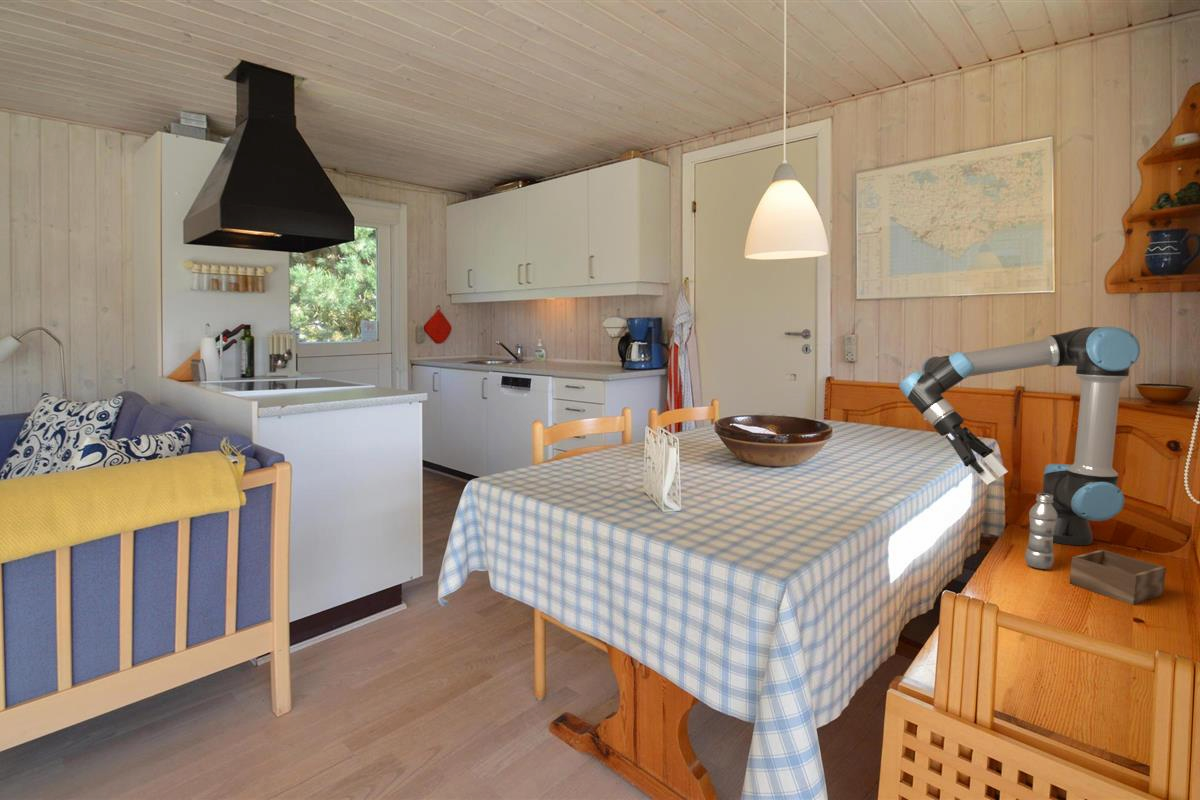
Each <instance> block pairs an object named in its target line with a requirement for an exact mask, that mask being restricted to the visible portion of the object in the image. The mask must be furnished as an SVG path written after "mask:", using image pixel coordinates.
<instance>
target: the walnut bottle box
mask: <svg viewBox="0 0 1200 800" xmlns="http://www.w3.org/2000/svg"><path fill="white" fill-rule="evenodd" d="M1166 571H1167V566H1163V565H1159V564H1155V563H1152V562H1147V561H1145V560H1141V559H1137V558H1134V557H1130V556H1126V555H1124V554H1120V553H1116V552H1112V551H1109V550H1105V549H1099V550H1095V551H1091V552H1087V553H1082V554H1079V555H1074V556H1072V557H1071V565H1070V574H1069V582H1068V583H1069V585H1071V584H1072V586H1074V585H1075V587H1077V586H1078V587H1077V588H1080V587H1081V589H1083V588H1084V590H1086V589H1087V590H1086V591H1089V590H1090V592H1092V591H1093V593H1095V592H1096V594H1099V595H1101V596H1105V597H1108V598H1111V599H1113V598H1115V599H1114V600H1116V599H1118V600H1117V601H1119V600H1120V602H1122V601H1124V602H1123V603H1125V602H1126V604H1128V603H1129V604H1128V605H1131V604H1132V605H1131V606H1135V605H1137V603H1138V604H1140V602H1141V603H1143V601H1144V602H1146V600H1147V601H1150V600H1153V599H1155V597H1156V598H1158V596H1159V597H1161V595H1162V596H1163V595H1164V589H1165V581H1166V574H1167V573H1166ZM1152 598H1153V599H1152ZM1149 599H1150V600H1149ZM1134 604H1135V605H1134Z"/></svg>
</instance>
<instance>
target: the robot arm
mask: <svg viewBox="0 0 1200 800" xmlns="http://www.w3.org/2000/svg"><path fill="white" fill-rule="evenodd" d="M1140 354H1141V346H1140V342H1139V340H1138V339H1137V337H1136V336H1135V335H1134V334H1133V333H1132V332H1130V331H1129V330H1126V329H1124V328H1121V327H1116V326H1097V327H1096V326H1095V327H1094V326H1088V327H1087V326H1086V327H1081V328H1078V329H1073V330H1070V331H1066V332H1062V333H1057V334H1051V335H1050V334H1049V335H1047V336H1045V338H1044V339H1043V340H1036V341H1028V342H1024V343H1023V342H1022V343H1017V344H1016V343H1015V344H1011V345H1006V346H998V347H993V348H987V349H979V350H974V351H968V352H961V351H956V352H954V353H953V354H949V355H944V356H932V357H928V358H927V359H926V360H924V362H923V363H922V365H921V371H914V372H912V373H911V374H909V375H908V376H906V377H905V378H903V379H902V381H900V383H899V385H898V386H899V390H900V391H901V392H902V394H904V397H906V399H907V400H908V401H909V402H910V403H911V404H912V405H913V407H914V408H916V410H918V411H919V413H920V414H921V415H922V416H923V417H924V418H923V420H924V421H927V423H929V424H930V426H933V429H934V430H935V431H936V432H937V433H938V434H939V435H940V436H941V437H944V436H945V439H946V440H947V441H948V442H949V443H950V445H951V446H952V447H953V448H952V449H954V451H955V452H956V454H957V455H958V457H959V458H960V460H961V462H962V463H963V466H964V467H970V468H971V470H972V471H974V472H975V474H977V476H979V478H980V479H981V480H982V481H983V482H984V484H986V486H989V484H991V483H992V482H995V481H996V480H997V478H996V476H994V475H993V473H992V472H991V471H990V470H992V471H993V472H994V473H995V474H996V475H997V477H998V478H1001V477H1003V476H1004V475H1005V474H1006V473H1008V472H1009V470H1008V469H1007V468H1006V467H1005V466H1004V465H1003V464H1002V463H1001V462H1000V461H999V460H998V459H997V458H996V456H995V455H994V454H993V453H994V450H993V449H992V448H990V447H989V446H988V445H987V444H985V443H984V441H982V440H981V439H980V438H979V437H978V436H977V435H975V434H974V433H973V432H972V431H971V430H970V429H969V428H968V427H967V426H964V427H962V426H961V425H962V424H963V423H964V422H965V421H964V418H963V417H962V416H961V414H959V413H958V411H954V410H955V409H954V407H953V406H952V405H951V404H950V402H948V401H947V400H946V399H945V398H944V396H942V394H944V393H945V392H947V391H949V390H950V389H952V388H953V387H955V386H956V385H957V384H958V383H960V382H962V381H963V380H965V379H967V378H968V377H975V376H982V375H987V374H988V375H989V374H994V373H1001V372H1008V371H1015V370H1022V369H1027V368H1033V367H1034V368H1035V367H1042V366H1049V367H1051V368H1057V367H1064V366H1065V367H1066V366H1067V367H1068V366H1070V367H1071V366H1072V367H1076V369H1075V370H1076V371H1075V375H1076V376H1077V377H1078V379H1080V380H1081V387H1080V397H1079V410H1078V421H1077V431H1076V440H1075V451H1074V453H1075V454H1074V460H1073V463H1072V464H1067V463H1066V464H1065V463H1048V464H1046V465H1045V469H1044V472H1043V481H1042V482H1043V483H1042V493H1045V494H1050V495H1053V503H1052V506H1053V507H1054V508H1055V510H1056V512H1057V515H1058V518H1057V522H1056V526H1055V529H1054V535H1053V543H1057V544H1062V545H1069V546H1088V545H1091V544H1093V538H1094V537H1093V532H1092V528H1091V524H1090V522H1089V521H1093V522H1103V521H1108V520H1110V519H1113V518H1114V517H1116V516H1117V515H1118V514H1120V512H1121V511H1122V510H1123V508H1124V505H1125V495H1124V493H1123V492H1122V490H1121V488H1119V486H1118V480H1119V473H1118V472H1117V471H1116V470H1115V469H1114V468H1113V462H1114V452H1115V451H1114V450H1115V441H1116V440H1115V439H1116V431H1117V423H1118V411H1119V401H1120V393H1121V392H1120V391H1121V383H1122V382H1123V381H1124V380H1126V379H1128V378H1129V374H1130V368H1131V367H1132V366H1133V365H1134V364H1135V363H1136V362H1137V361H1138V359H1139V357H1140ZM974 452H975V453H976V454H978V455H979V456H980V457H982V458H983V459H982V460H983V461H984V462H985V463H986V464H987V466H988V467H990V470H989V469H988V468H987V467H986V466H985V465H984V464H983V462H982V461H981V460H980V459H977V457H976V455H975V453H974Z"/></svg>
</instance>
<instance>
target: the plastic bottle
mask: <svg viewBox="0 0 1200 800" xmlns="http://www.w3.org/2000/svg"><path fill="white" fill-rule="evenodd" d="M1035 501H1036V503H1035V504H1034V505H1033V506H1032V507H1031V508H1030V510H1029V511H1028V512H1029V513H1028V516H1029V538H1028V543H1027V547H1026V549H1025V553H1024V560H1025V561H1024V562H1025V563H1026V564H1027V565H1028V566H1030V567H1032V568H1036V569H1041V570H1042V569H1043V570H1048V569H1050V568H1051V567H1053V564H1054V561H1055V558H1054V556H1055V555H1054V551H1053V550H1054V542H1053V535H1054V529H1055V526H1056V522H1057V518H1058V515H1057V512H1056V510H1055V508H1054V507H1053V506H1052V503H1053V495H1050V494H1045V493H1043V492H1042V493H1041V492H1039V493H1037V494H1036V498H1035Z"/></svg>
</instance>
